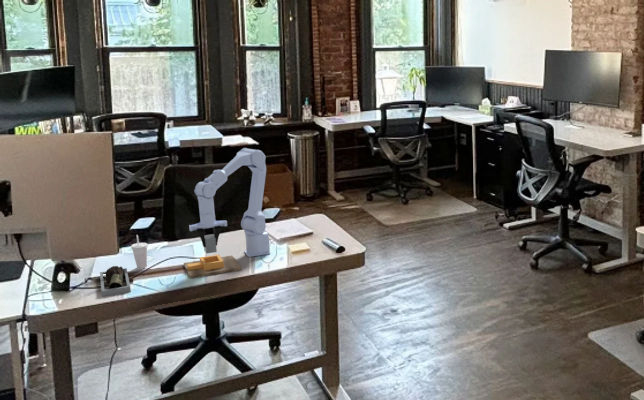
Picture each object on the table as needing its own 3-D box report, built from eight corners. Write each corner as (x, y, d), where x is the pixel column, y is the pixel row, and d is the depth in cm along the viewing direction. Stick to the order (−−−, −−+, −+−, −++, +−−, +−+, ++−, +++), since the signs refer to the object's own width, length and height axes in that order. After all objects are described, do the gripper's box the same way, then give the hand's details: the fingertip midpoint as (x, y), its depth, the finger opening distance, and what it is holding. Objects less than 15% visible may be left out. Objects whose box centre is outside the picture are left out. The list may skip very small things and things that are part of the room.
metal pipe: (123, 292, 233) (121, 278, 232) (104, 295, 232) (101, 280, 230) (126, 275, 250) (124, 261, 248) (108, 277, 248) (106, 264, 247)
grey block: (214, 248, 255) (212, 234, 254) (216, 251, 251) (215, 237, 249) (204, 249, 254) (202, 235, 252) (206, 253, 249) (205, 238, 248)
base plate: (232, 257, 264) (232, 255, 264) (241, 270, 249) (241, 267, 249) (183, 265, 258) (183, 263, 257) (190, 278, 243) (189, 276, 243)
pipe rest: (127, 273, 252) (126, 268, 251) (130, 291, 233) (130, 286, 232) (100, 277, 249) (99, 272, 248) (102, 296, 229) (101, 291, 229)
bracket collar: (219, 260, 259) (219, 254, 258) (223, 267, 251) (223, 261, 250) (186, 265, 254) (185, 259, 254) (189, 272, 246) (189, 266, 246)
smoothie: (130, 269, 255) (126, 236, 252) (140, 264, 261) (136, 231, 258) (144, 271, 253) (139, 237, 250) (153, 265, 259) (149, 232, 255)
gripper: (223, 207, 254) (226, 240, 257) (186, 212, 249) (190, 245, 253) (227, 211, 247) (229, 245, 251) (189, 216, 243) (192, 250, 246)
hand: (210, 245), depth 251 cm, fingers closed on grey block, 4 cm apart
